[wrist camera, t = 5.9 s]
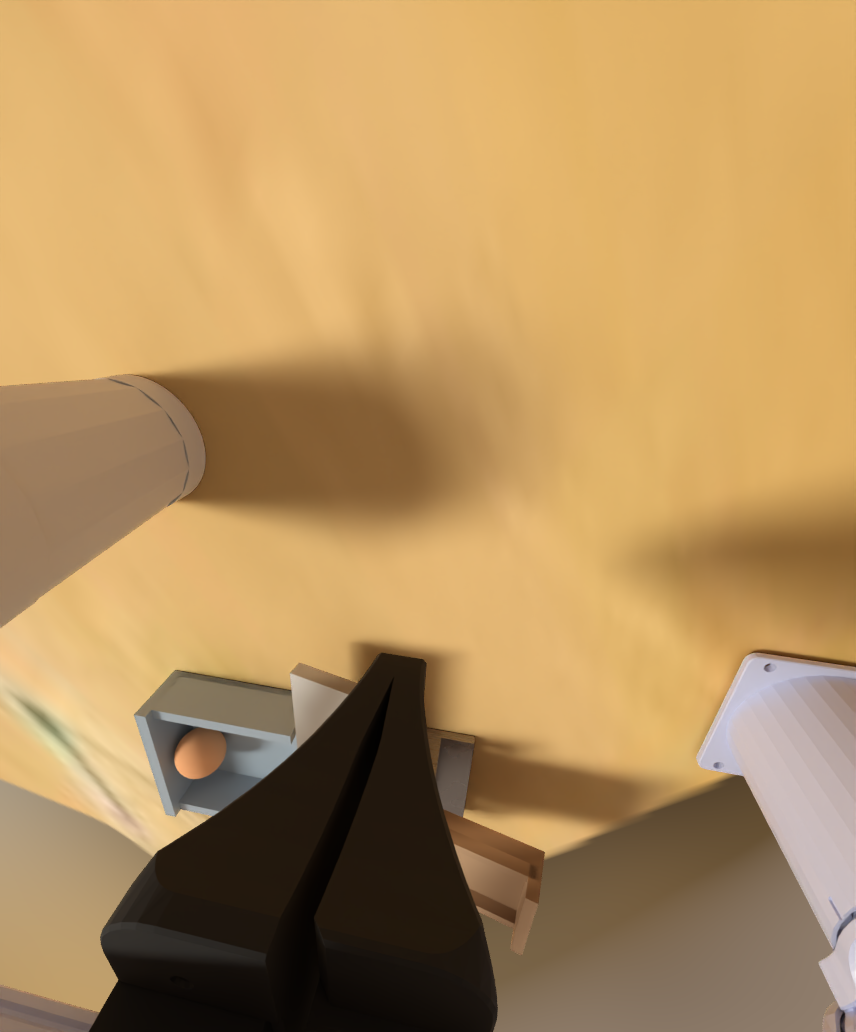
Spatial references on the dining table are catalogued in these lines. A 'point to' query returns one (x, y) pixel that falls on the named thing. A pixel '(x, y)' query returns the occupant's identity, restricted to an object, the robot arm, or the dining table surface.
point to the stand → (451, 766)
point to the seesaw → (481, 851)
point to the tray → (223, 707)
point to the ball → (200, 753)
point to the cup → (84, 474)
